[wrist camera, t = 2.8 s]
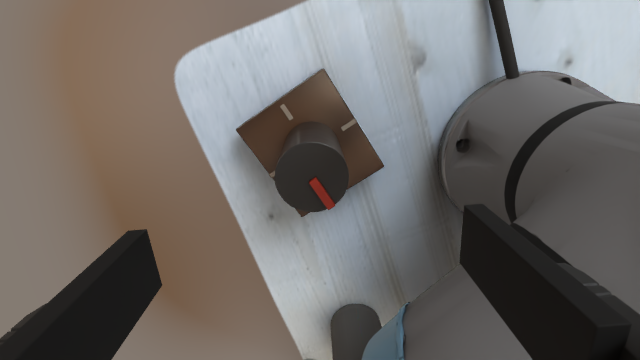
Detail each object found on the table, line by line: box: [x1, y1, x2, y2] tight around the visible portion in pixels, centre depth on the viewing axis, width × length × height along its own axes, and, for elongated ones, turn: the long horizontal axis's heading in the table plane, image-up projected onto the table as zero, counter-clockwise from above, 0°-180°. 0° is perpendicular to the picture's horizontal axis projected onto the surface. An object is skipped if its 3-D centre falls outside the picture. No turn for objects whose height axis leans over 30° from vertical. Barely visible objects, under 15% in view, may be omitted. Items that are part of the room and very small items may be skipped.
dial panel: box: [236, 69, 384, 217], centre depth 30 cm, size 10×9×3 cm
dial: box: [275, 121, 349, 212], centre depth 25 cm, size 5×5×8 cm
